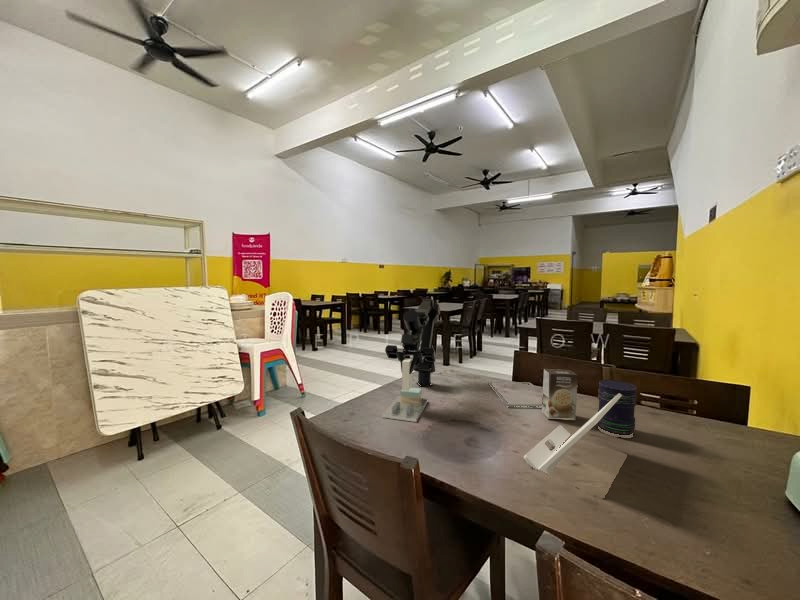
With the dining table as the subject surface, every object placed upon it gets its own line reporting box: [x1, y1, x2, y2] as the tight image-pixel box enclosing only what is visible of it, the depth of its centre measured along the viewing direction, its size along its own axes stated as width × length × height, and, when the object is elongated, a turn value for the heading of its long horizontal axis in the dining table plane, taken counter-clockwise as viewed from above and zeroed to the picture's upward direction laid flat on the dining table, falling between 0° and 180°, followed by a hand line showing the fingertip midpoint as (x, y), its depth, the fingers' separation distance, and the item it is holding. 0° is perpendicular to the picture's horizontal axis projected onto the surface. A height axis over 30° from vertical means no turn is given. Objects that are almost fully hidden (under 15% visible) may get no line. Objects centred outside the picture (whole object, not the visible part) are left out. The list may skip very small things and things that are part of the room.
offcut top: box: [400, 387, 423, 398], centre depth 122 cm, size 5×7×2 cm
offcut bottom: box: [400, 394, 422, 403], centre depth 122 cm, size 5×7×2 cm
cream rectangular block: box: [401, 358, 413, 391], centre depth 116 cm, size 4×2×10 cm, turn 163°
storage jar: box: [596, 379, 638, 435], centre depth 99 cm, size 10×10×15 cm
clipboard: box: [487, 381, 542, 407], centre depth 132 cm, size 19×2×30 cm
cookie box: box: [541, 368, 579, 420], centre depth 110 cm, size 9×6×16 cm
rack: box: [381, 395, 429, 423], centre depth 116 cm, size 19×12×3 cm, turn 163°
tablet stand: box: [523, 393, 622, 474], centre depth 83 cm, size 18×25×17 cm
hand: (406, 373), depth 114 cm, fingers closed on cream rectangular block, 2 cm apart
